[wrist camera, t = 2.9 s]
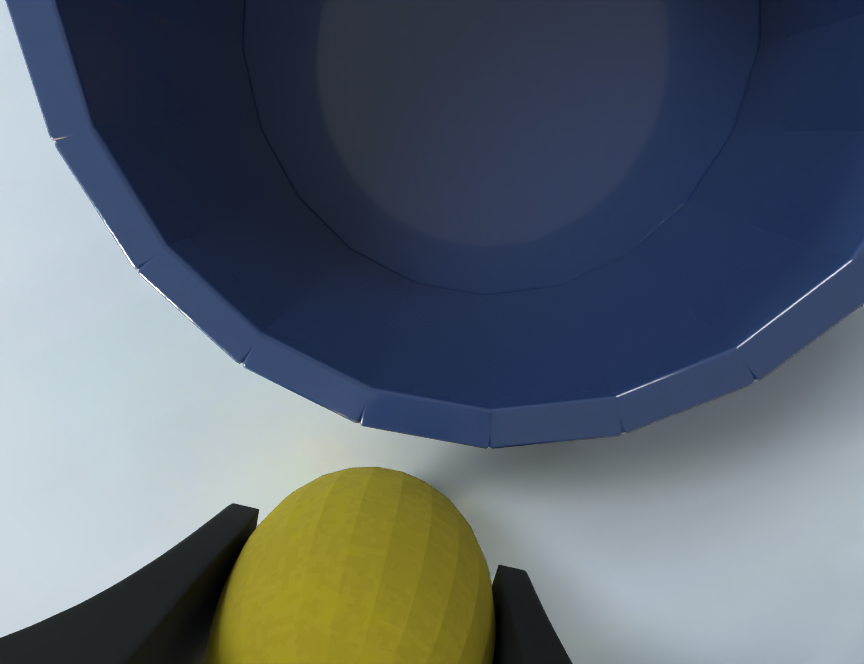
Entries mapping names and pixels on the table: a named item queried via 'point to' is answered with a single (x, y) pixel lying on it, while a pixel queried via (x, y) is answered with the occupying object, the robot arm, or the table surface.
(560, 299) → the blue mug
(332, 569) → the lemon
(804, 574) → the table surface
